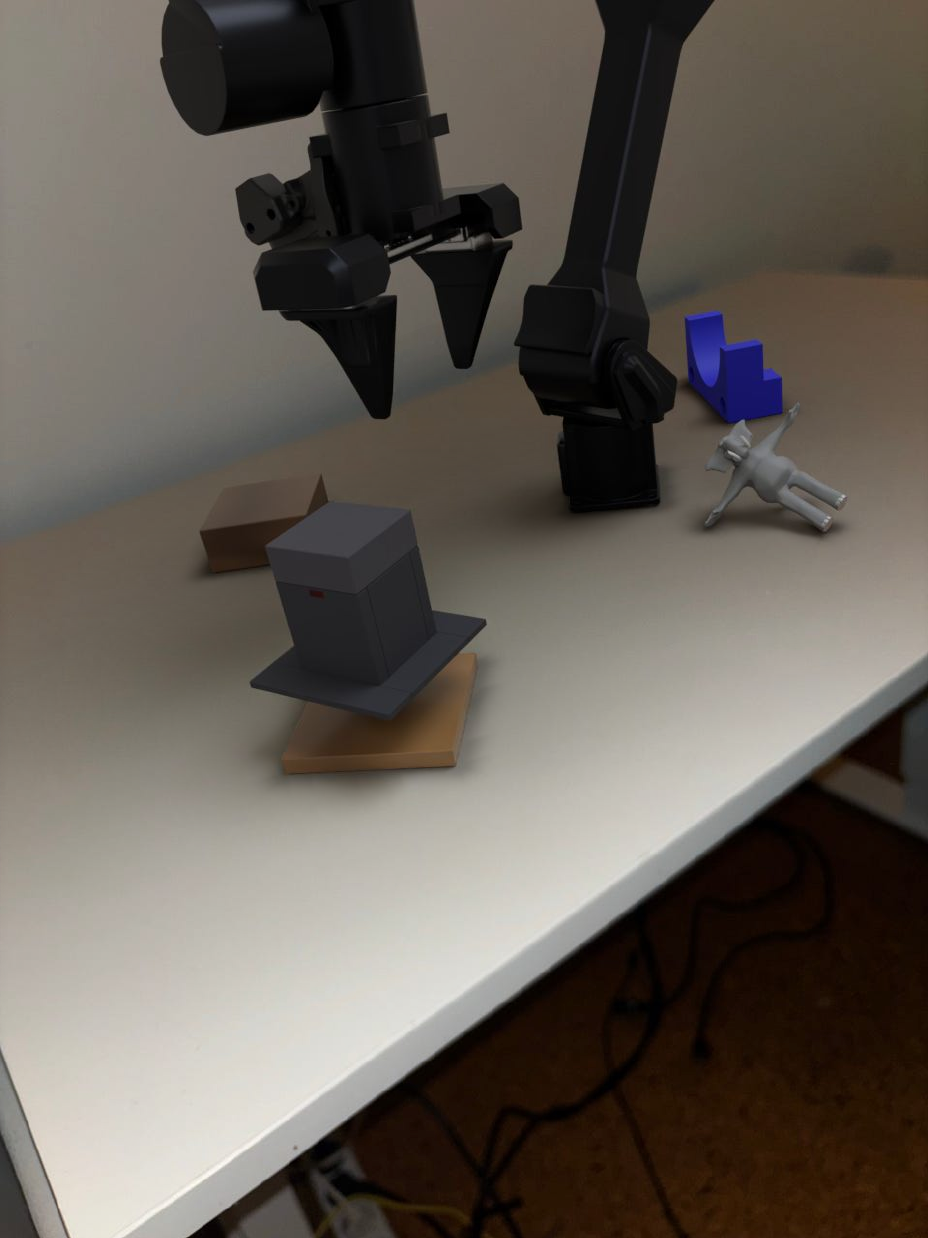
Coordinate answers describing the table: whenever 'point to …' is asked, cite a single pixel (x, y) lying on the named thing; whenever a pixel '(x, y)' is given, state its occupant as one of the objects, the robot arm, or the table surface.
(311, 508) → the hat block
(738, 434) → the elephant figurine
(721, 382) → the blue cradle bracket
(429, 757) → the hat stand
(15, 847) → the table surface
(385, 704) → the hat
